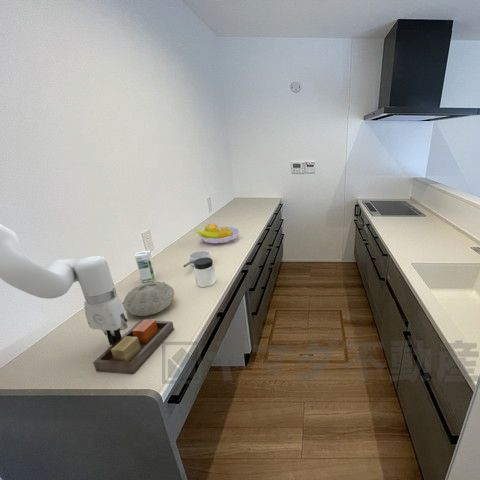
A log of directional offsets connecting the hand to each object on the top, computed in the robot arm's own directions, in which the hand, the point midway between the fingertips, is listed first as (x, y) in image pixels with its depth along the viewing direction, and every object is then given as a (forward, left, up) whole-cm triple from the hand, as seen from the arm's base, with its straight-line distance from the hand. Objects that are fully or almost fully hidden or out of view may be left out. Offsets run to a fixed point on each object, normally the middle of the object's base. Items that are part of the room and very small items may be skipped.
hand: (116, 342), depth 88 cm
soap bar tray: (+8, 0, -2) cm, 8 cm away
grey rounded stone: (-4, +22, -2) cm, 22 cm away
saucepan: (-6, +60, -2) cm, 60 cm away
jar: (+8, +44, -2) cm, 45 cm away
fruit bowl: (-13, +101, -2) cm, 101 cm away
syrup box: (-22, +44, -2) cm, 49 cm away
